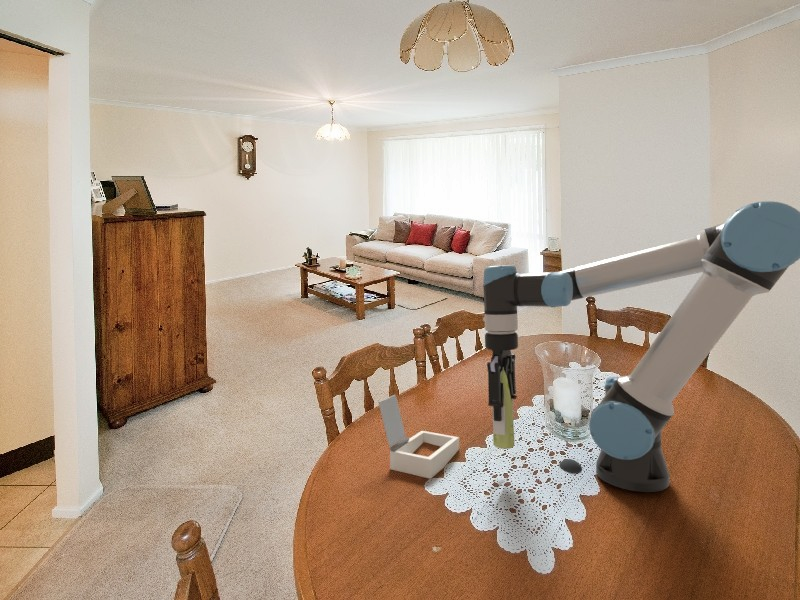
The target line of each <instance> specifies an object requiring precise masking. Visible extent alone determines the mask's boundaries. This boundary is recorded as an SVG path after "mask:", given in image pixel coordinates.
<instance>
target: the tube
mask: <svg viewBox="0 0 800 600" xmlns="http://www.w3.org/2000/svg"><path fill="white" fill-rule="evenodd" d="M500 382H501V383H503V390H504V401H503V406H505V427H506V434H505V435H499V434H493V433H492V434H493V435H492V443H493V446H494V447H495V448H498V449H500V450H501V449H502V450H508V449H512V448H514V447H515V427H514V426H515V425H514V424H513V421H514V411H513V412H512V403H511V396H510V390H509V385H508V380H507V376H506V373H505V371H504V368H503V370H502V371H501V374H500Z"/></svg>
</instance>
